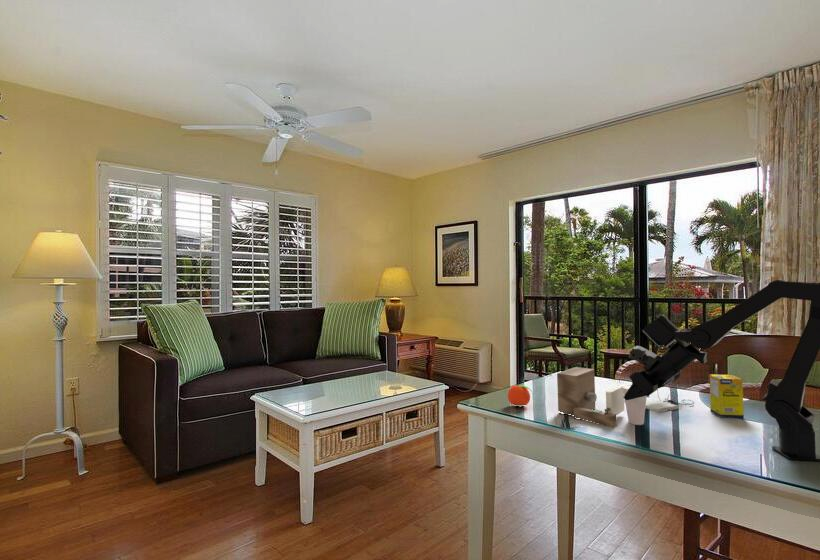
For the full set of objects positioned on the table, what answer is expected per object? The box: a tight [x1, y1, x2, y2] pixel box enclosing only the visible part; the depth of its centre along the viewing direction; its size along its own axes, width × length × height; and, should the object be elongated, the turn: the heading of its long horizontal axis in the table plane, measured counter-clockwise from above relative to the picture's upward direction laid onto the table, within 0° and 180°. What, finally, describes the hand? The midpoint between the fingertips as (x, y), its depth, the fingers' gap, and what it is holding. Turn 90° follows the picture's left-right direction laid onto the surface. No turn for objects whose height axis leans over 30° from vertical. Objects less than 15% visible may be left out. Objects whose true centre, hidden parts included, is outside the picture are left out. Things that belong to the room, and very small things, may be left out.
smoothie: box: [622, 384, 648, 426], centre depth 118 cm, size 6×6×14 cm
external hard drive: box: [624, 396, 679, 413], centre depth 134 cm, size 2×8×12 cm
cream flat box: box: [604, 385, 625, 416], centre depth 121 cm, size 2×11×7 cm, turn 134°
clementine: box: [507, 384, 534, 406], centre depth 136 cm, size 8×7×7 cm
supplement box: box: [708, 373, 745, 419], centre depth 123 cm, size 6×6×11 cm
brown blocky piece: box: [556, 366, 618, 428], centre depth 126 cm, size 16×14×12 cm
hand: (629, 396), depth 119 cm, fingers open, 7 cm apart
